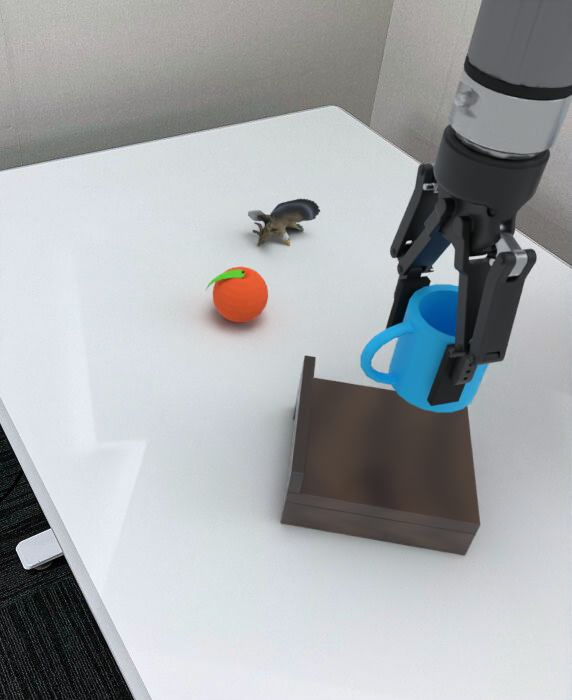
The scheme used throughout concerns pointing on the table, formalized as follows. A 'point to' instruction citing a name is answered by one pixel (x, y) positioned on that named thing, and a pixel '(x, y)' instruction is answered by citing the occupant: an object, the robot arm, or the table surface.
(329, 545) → the table surface
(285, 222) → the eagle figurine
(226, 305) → the clementine
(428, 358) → the mug
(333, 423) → the dark wooden box
